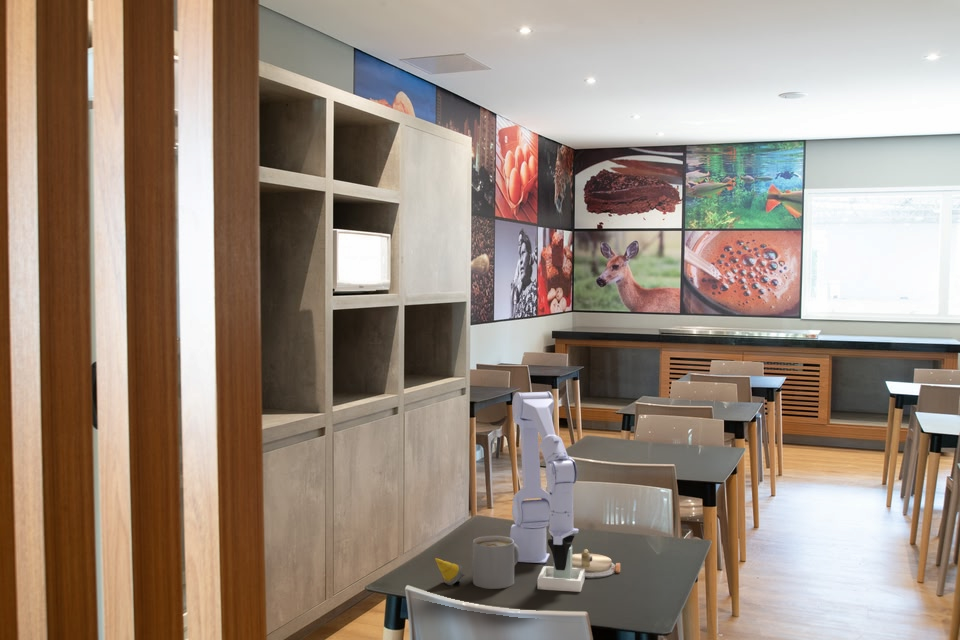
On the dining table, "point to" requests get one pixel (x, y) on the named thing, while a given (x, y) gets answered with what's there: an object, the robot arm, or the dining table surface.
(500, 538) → the coffee mug
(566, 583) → the tray
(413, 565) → the dining table surface
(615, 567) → the crank base
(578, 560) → the crank
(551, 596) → the dining table surface
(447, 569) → the yellow and grey cone
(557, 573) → the block
